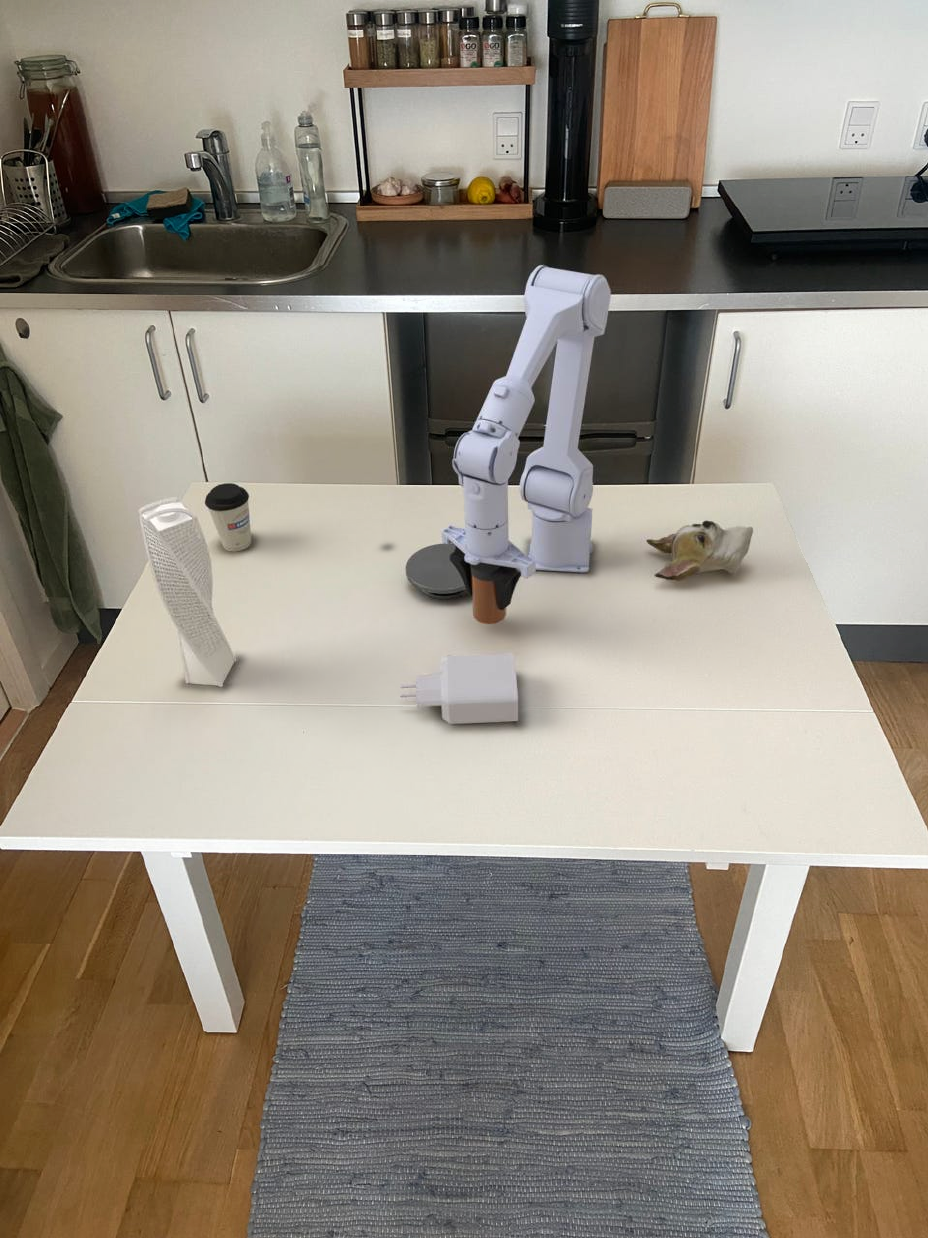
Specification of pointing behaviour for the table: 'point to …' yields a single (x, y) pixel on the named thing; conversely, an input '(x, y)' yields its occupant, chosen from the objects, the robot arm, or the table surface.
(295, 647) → the table surface
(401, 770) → the table surface
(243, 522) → the coffee cup
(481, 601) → the spice jar
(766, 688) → the table surface
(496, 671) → the charger
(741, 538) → the ceramic sculpture
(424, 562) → the steel stand
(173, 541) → the skyscraper
